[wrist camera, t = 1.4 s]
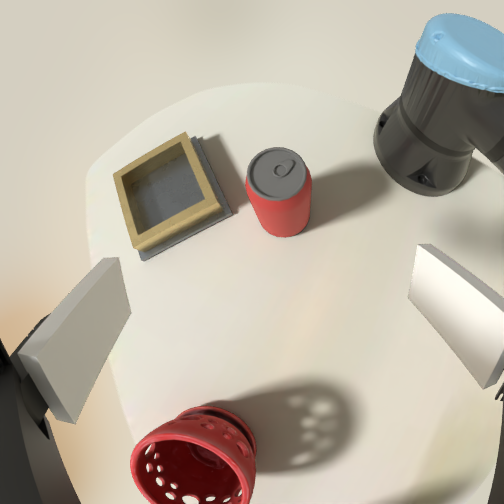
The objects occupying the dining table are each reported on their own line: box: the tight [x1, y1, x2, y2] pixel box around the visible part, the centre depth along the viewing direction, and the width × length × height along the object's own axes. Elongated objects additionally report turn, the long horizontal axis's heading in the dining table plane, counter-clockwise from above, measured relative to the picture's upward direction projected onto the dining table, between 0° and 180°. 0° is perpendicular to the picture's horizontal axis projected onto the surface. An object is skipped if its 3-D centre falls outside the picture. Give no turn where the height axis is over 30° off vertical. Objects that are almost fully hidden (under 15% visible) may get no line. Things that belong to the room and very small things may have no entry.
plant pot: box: [130, 406, 256, 504], centre depth 28 cm, size 13×13×12 cm
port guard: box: [113, 132, 233, 261], centre depth 40 cm, size 14×14×4 cm
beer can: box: [245, 147, 312, 237], centre depth 33 cm, size 7×7×12 cm
